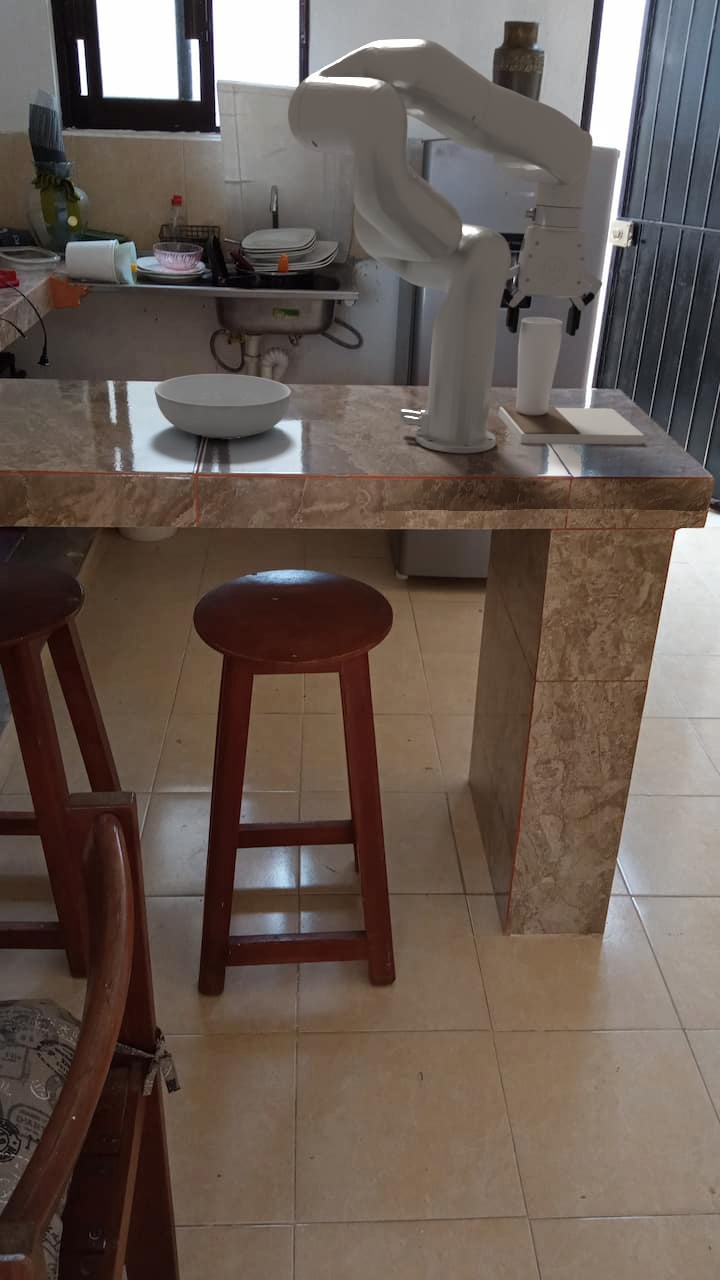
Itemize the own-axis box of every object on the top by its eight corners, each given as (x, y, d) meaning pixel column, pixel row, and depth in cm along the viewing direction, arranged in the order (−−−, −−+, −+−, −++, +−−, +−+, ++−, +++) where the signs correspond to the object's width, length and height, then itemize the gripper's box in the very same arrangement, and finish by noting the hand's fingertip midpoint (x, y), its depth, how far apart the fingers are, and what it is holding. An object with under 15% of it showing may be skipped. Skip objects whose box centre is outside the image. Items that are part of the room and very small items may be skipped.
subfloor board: (520, 443, 158) (521, 434, 157) (498, 415, 172) (499, 407, 171) (642, 444, 160) (644, 435, 159) (611, 417, 174) (612, 408, 173)
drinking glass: (543, 420, 164) (555, 326, 157) (504, 413, 167) (514, 321, 160) (557, 411, 169) (569, 320, 162) (519, 405, 172) (529, 315, 165)
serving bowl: (305, 447, 152) (306, 402, 149) (167, 455, 146) (164, 408, 143) (273, 411, 170) (273, 370, 166) (149, 417, 164) (146, 374, 160)
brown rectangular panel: (523, 442, 158) (524, 432, 157) (501, 415, 172) (502, 406, 171) (578, 443, 159) (580, 433, 158) (552, 416, 173) (553, 406, 172)
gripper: (507, 217, 150) (493, 335, 158) (618, 224, 152) (599, 339, 160) (496, 214, 157) (484, 326, 164) (603, 220, 158) (586, 331, 166)
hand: (541, 333), depth 162 cm, fingers open, 9 cm apart
